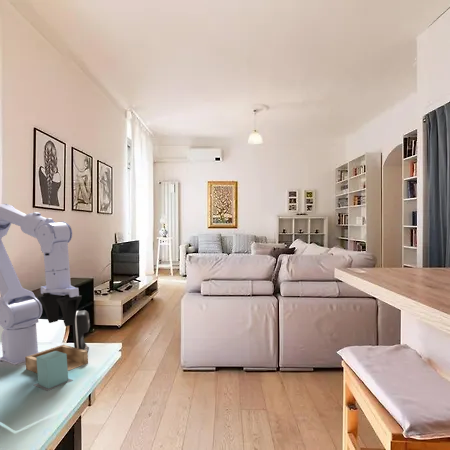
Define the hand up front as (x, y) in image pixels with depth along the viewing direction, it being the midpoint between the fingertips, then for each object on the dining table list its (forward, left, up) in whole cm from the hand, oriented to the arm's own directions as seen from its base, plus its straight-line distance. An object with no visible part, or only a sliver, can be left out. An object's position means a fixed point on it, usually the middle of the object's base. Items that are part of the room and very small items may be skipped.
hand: (61, 323), depth 95 cm
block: (+9, -8, -10) cm, 16 cm away
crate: (0, -2, -10) cm, 11 cm away
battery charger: (-3, +7, -11) cm, 13 cm away
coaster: (+9, -8, -10) cm, 16 cm away
